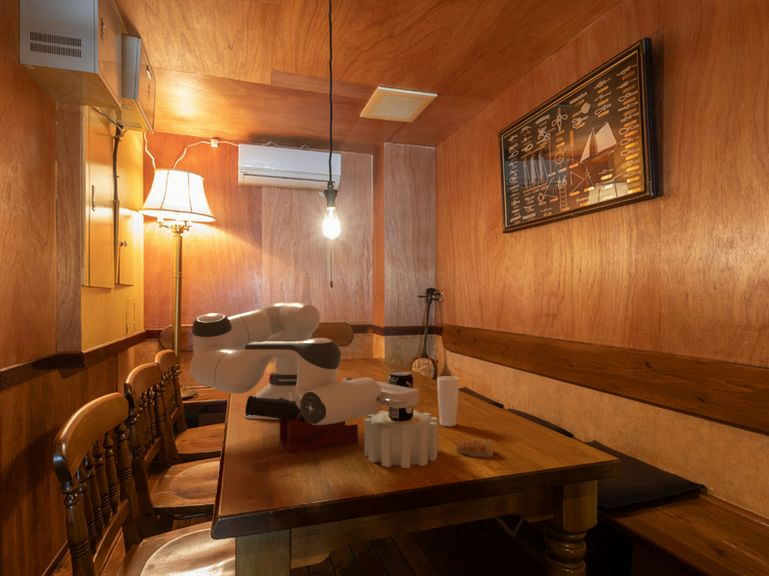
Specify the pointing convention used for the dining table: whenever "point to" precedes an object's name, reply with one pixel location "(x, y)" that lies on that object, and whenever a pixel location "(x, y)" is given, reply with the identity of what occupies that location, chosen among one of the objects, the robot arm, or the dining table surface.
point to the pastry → (476, 448)
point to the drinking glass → (447, 399)
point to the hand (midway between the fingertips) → (403, 387)
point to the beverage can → (405, 381)
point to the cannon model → (301, 426)
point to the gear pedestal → (401, 439)
